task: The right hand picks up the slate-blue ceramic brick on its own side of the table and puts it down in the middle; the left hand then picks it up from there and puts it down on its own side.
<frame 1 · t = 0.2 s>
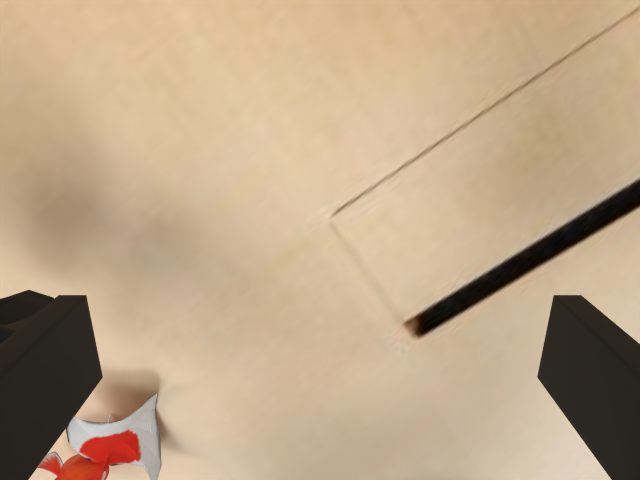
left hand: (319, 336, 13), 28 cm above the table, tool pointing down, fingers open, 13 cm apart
fish: (118, 423, 49), on the table
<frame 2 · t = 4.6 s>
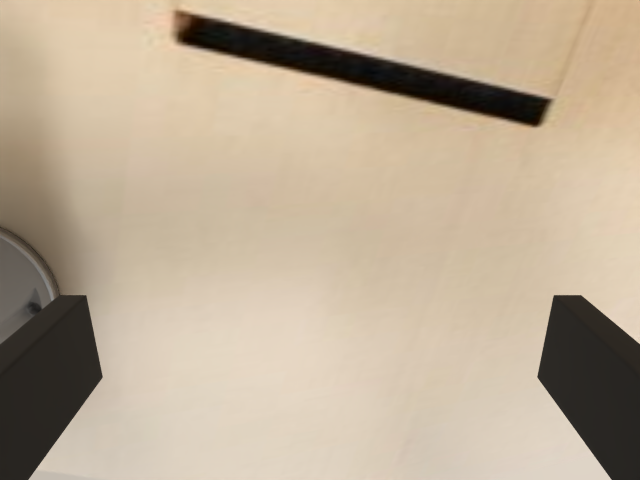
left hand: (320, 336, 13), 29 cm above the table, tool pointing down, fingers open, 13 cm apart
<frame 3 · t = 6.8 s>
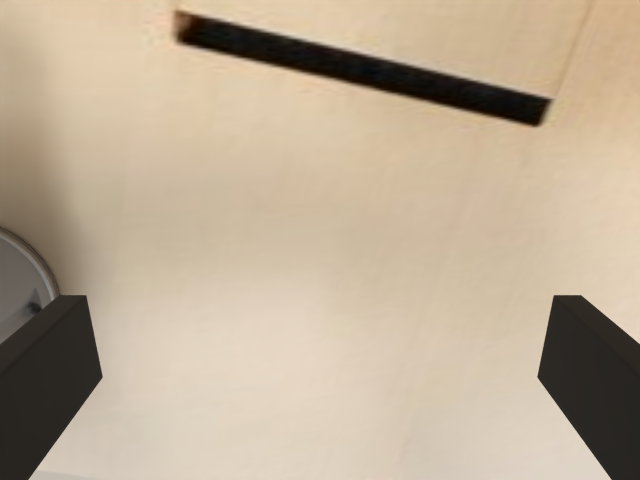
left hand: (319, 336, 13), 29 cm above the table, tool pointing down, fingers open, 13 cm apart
when the right hand's fingers open (2 cm above the table, at t = 9.3 s): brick stays where it is, on the table.
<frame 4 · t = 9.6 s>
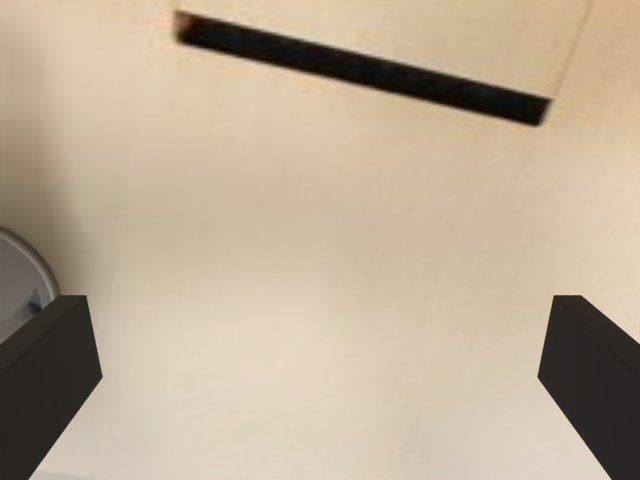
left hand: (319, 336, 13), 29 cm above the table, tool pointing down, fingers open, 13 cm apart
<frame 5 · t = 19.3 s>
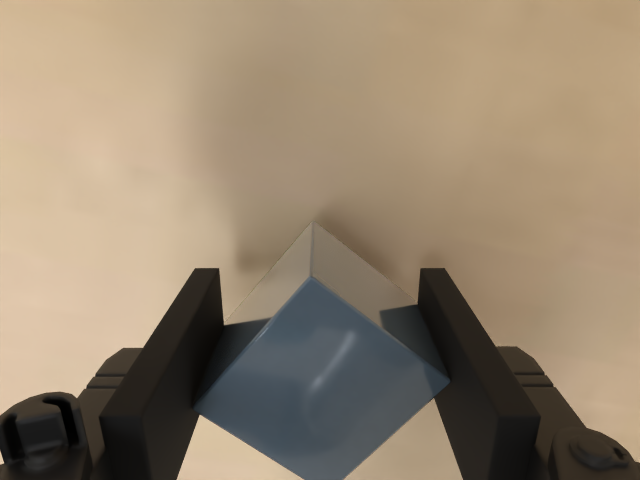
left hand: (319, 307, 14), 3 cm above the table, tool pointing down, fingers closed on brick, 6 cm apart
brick: (319, 311, 15), point 3 cm above the table, touching left hand
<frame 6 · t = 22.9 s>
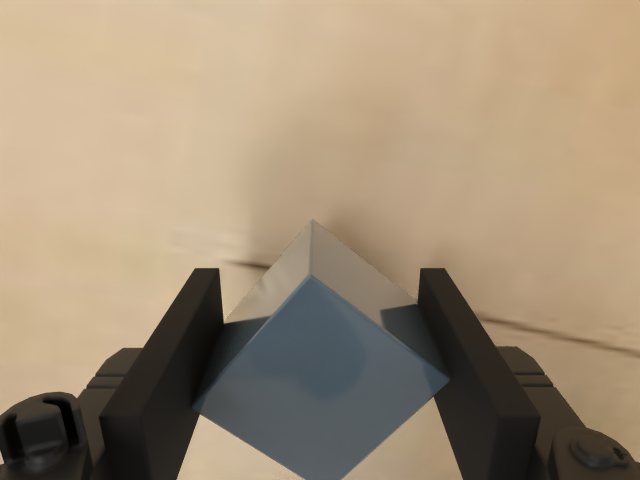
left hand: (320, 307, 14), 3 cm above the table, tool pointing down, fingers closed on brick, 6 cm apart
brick: (319, 310, 15), point 3 cm above the table, touching left hand
when the left hand's fingers open (0 cm above the table, at t = 26.9 s): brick stays where it is, on the table.
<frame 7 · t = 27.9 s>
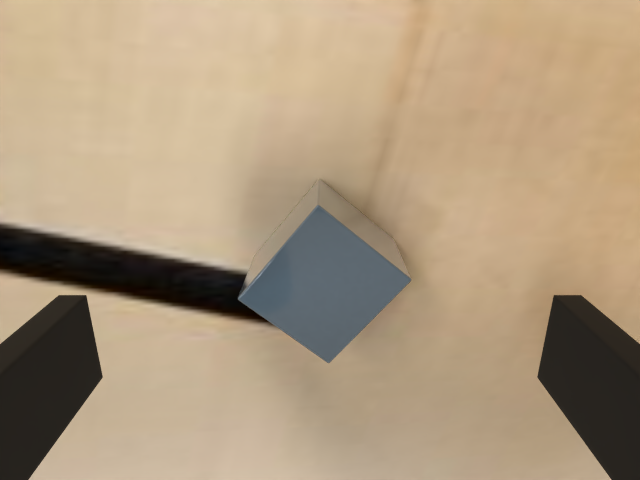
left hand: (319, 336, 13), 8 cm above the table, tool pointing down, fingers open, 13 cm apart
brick: (323, 247, 20), on the table
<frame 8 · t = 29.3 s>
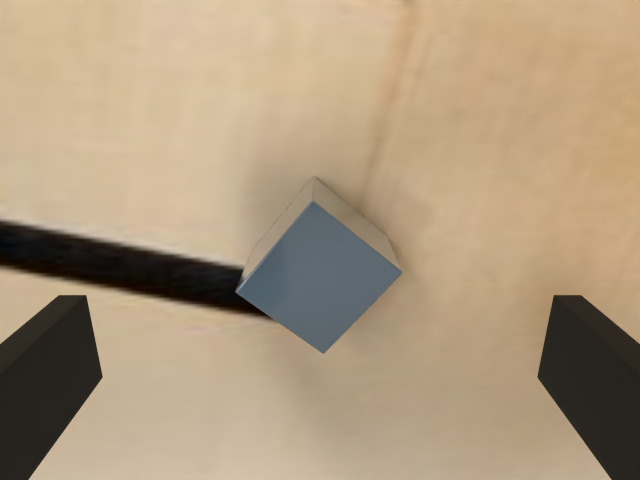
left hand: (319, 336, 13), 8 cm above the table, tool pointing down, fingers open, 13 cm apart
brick: (318, 243, 21), on the table
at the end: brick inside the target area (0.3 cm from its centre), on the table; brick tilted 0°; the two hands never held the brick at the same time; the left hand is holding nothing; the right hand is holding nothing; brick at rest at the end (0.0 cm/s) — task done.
